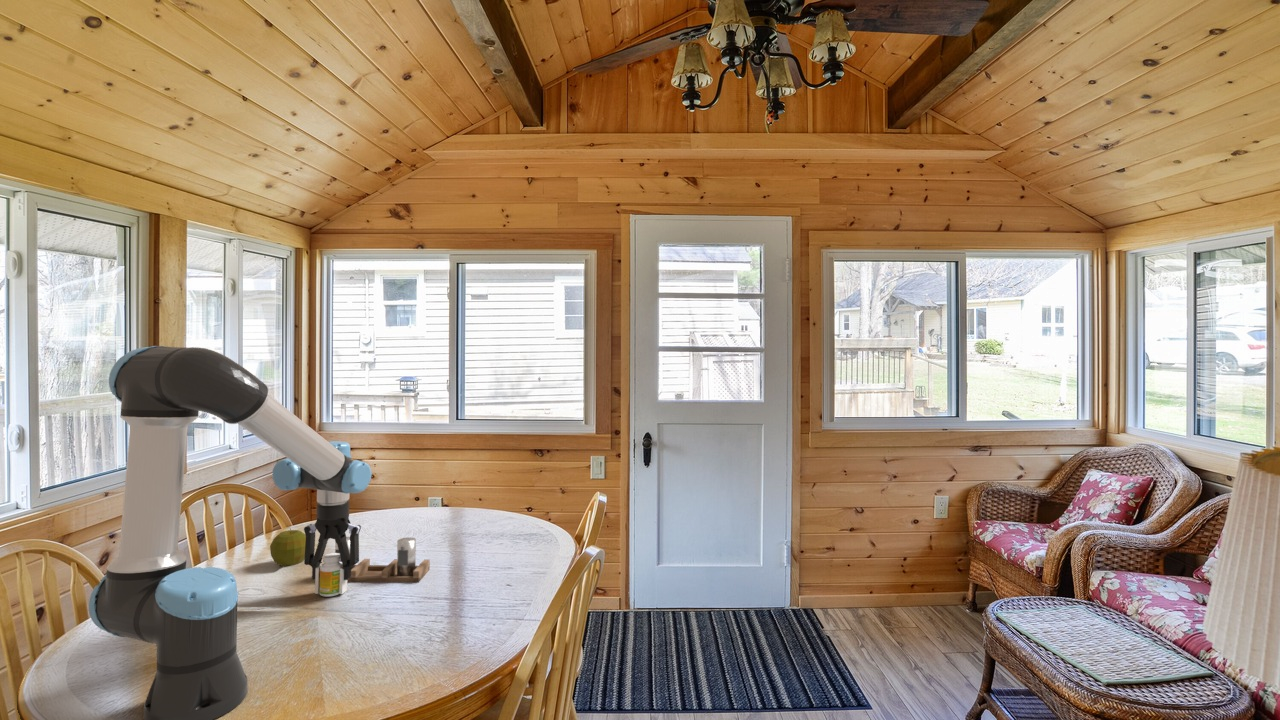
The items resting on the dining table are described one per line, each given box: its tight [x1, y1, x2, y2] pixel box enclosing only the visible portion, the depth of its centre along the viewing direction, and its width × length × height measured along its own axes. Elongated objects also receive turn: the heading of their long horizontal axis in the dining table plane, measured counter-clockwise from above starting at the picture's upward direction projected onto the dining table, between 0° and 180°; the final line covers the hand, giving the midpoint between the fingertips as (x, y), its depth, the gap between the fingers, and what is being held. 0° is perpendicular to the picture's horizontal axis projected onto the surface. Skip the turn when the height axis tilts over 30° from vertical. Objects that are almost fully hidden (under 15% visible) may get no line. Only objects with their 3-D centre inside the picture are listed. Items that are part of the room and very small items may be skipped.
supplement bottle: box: [318, 552, 343, 598], centre depth 153 cm, size 5×5×10 cm
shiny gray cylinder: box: [334, 536, 354, 570], centre depth 165 cm, size 5×5×10 cm
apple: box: [269, 528, 306, 567], centre depth 175 cm, size 10×10×11 cm
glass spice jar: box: [396, 537, 417, 576], centre depth 166 cm, size 5×5×10 cm
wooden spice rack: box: [347, 558, 431, 583], centre depth 166 cm, size 9×27×4 cm, turn 92°
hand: (331, 591), depth 153 cm, fingers closed on supplement bottle, 5 cm apart
